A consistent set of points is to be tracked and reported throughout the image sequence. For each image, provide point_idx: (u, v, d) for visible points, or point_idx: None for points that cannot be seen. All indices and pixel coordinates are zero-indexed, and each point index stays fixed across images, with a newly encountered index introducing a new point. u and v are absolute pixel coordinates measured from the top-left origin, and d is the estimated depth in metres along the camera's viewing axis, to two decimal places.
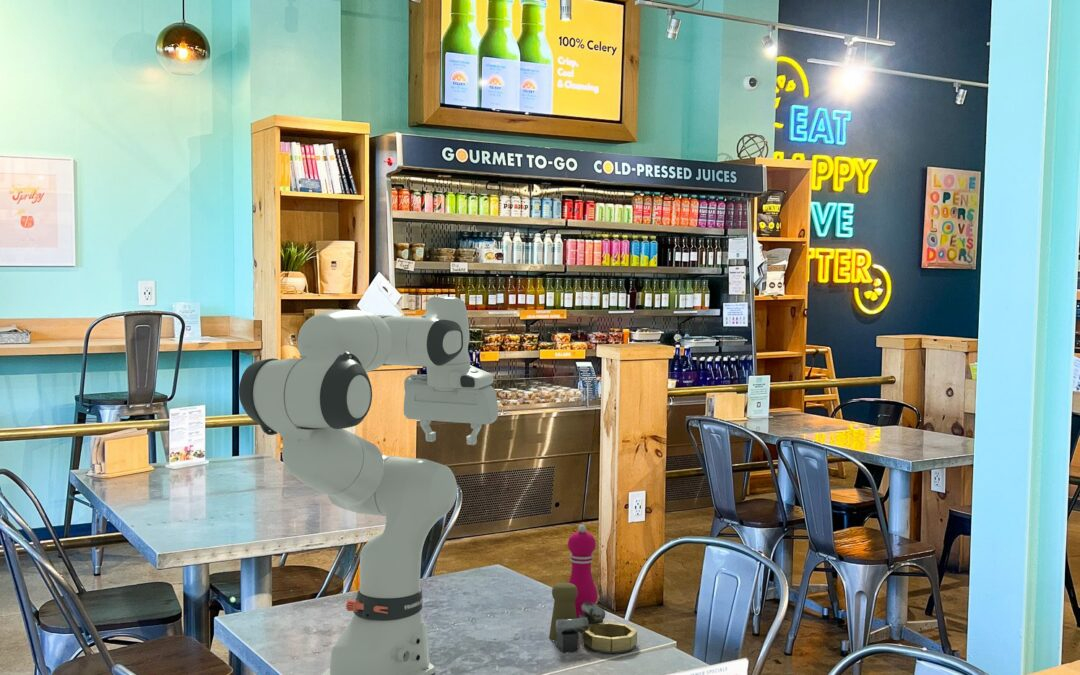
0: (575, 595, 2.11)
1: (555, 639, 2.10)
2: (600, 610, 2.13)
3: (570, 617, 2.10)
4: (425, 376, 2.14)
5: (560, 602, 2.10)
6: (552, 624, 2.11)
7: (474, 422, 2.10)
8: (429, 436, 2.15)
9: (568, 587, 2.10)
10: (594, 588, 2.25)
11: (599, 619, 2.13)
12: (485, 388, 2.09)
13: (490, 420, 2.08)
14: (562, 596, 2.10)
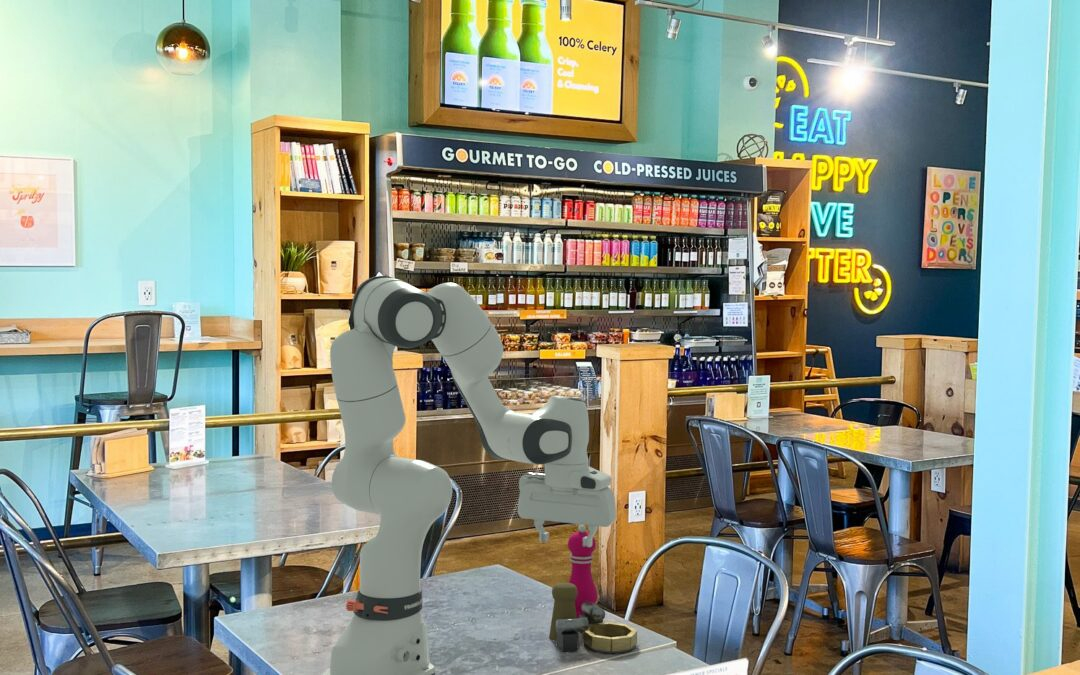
0: (575, 595, 2.11)
1: (555, 639, 2.10)
2: (600, 610, 2.13)
3: (570, 617, 2.10)
4: (541, 475, 2.13)
5: (560, 602, 2.10)
6: (552, 624, 2.11)
7: (592, 524, 2.08)
8: (543, 536, 2.13)
9: (568, 587, 2.10)
10: (594, 588, 2.25)
11: (599, 619, 2.13)
12: (605, 489, 2.08)
13: (609, 523, 2.06)
14: (562, 596, 2.10)
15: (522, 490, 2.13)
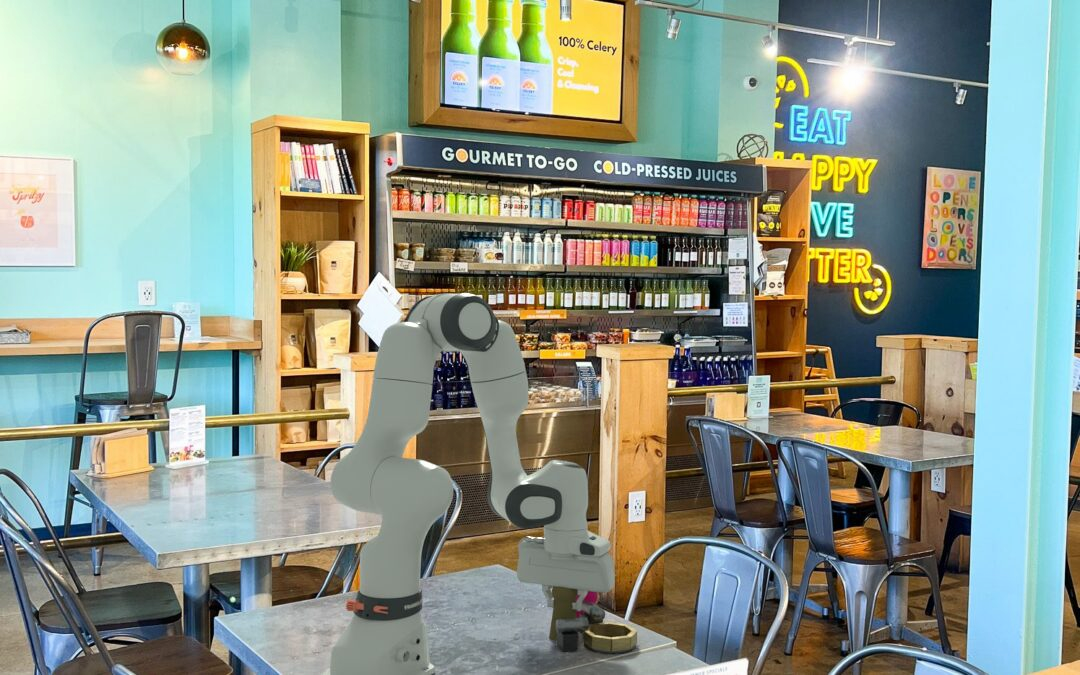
0: (575, 595, 2.11)
1: (555, 639, 2.10)
2: (600, 610, 2.13)
3: (570, 617, 2.10)
4: (541, 539, 2.13)
5: (560, 602, 2.10)
6: (552, 624, 2.11)
7: (591, 590, 2.08)
8: (551, 602, 2.12)
9: None
10: None
11: (599, 619, 2.13)
12: (604, 555, 2.08)
13: (608, 589, 2.07)
14: (562, 596, 2.10)
15: (521, 554, 2.14)
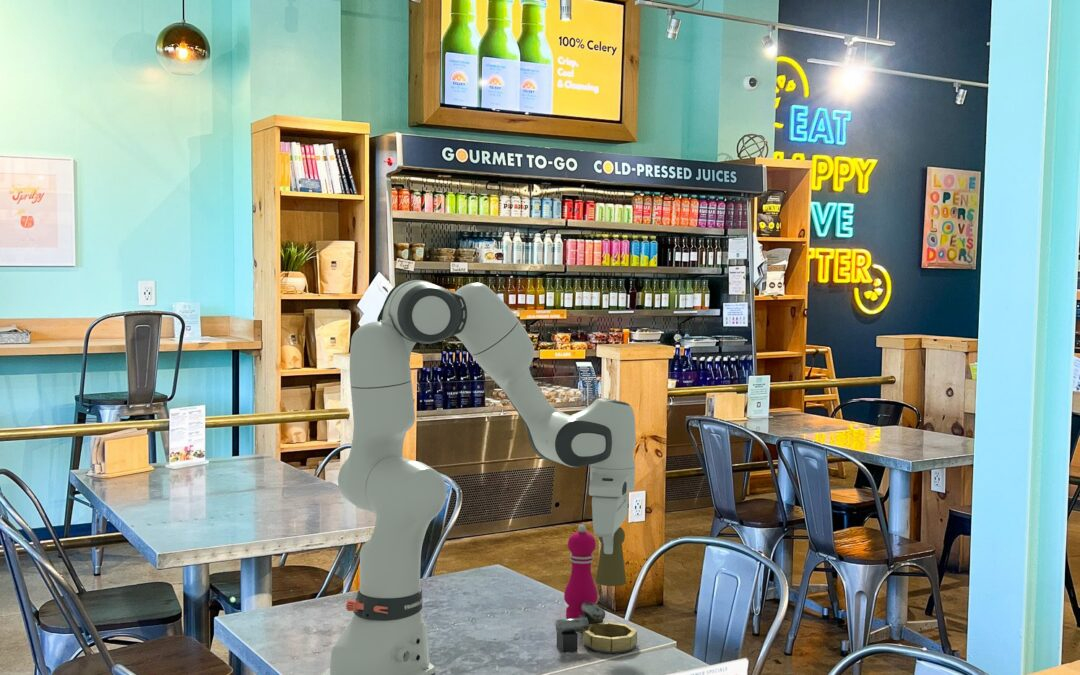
0: None
1: None
2: (600, 610, 2.13)
3: (602, 559, 2.06)
4: None
5: None
6: None
7: None
8: None
9: None
10: (594, 588, 2.25)
11: (599, 619, 2.13)
12: (603, 498, 1.99)
13: (595, 532, 1.98)
14: None
15: None
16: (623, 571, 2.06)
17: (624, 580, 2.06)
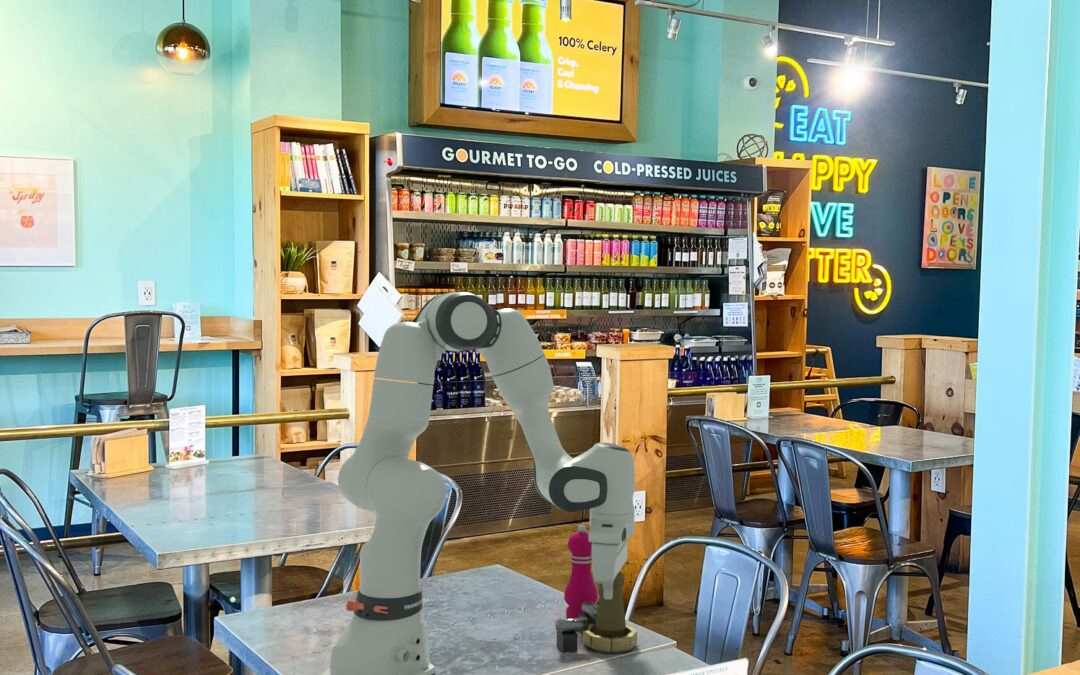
0: None
1: None
2: None
3: (602, 604, 2.06)
4: None
5: None
6: None
7: None
8: None
9: None
10: (594, 588, 2.25)
11: None
12: (602, 545, 1.99)
13: (594, 579, 1.98)
14: None
15: None
16: (623, 616, 2.07)
17: (624, 624, 2.07)
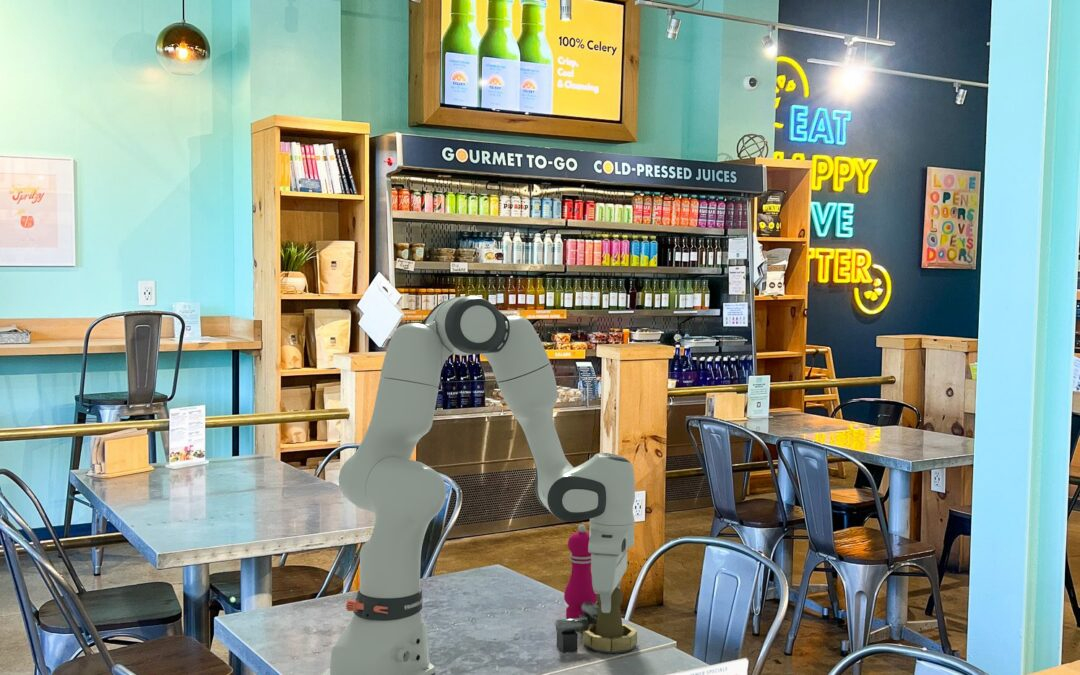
0: None
1: None
2: None
3: (600, 621, 2.06)
4: None
5: None
6: None
7: None
8: None
9: None
10: None
11: None
12: (602, 555, 1.99)
13: (594, 589, 1.98)
14: None
15: None
16: (621, 632, 2.06)
17: None
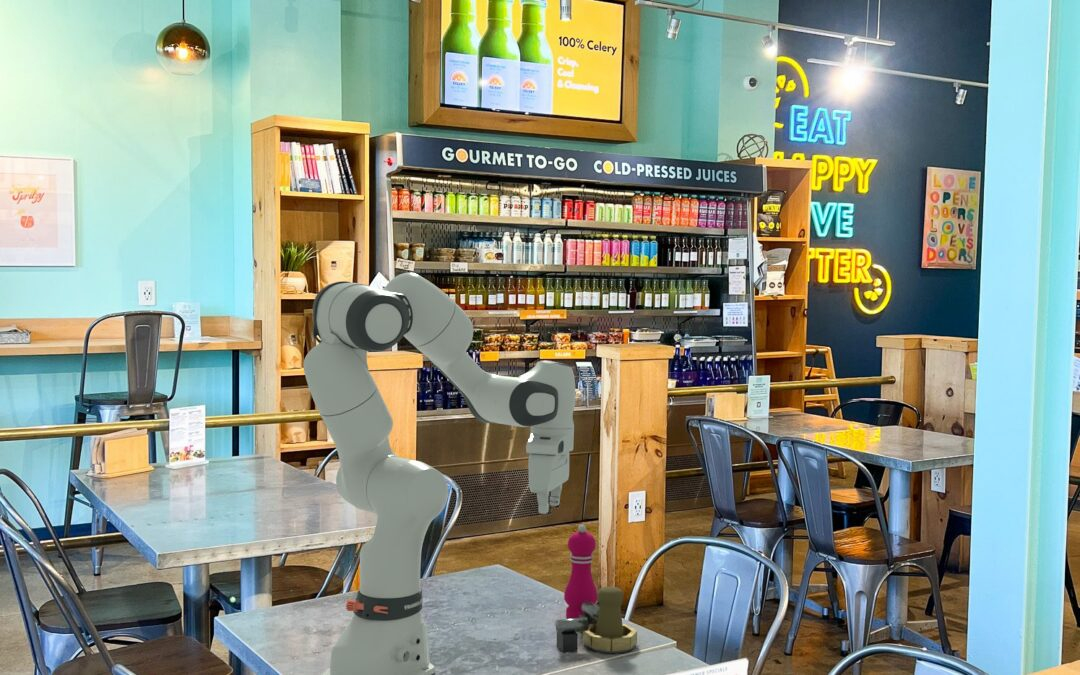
0: (605, 601, 2.05)
1: None
2: None
3: (600, 621, 2.06)
4: None
5: None
6: None
7: None
8: None
9: (603, 590, 2.06)
10: (594, 588, 2.25)
11: None
12: (539, 455, 2.05)
13: (530, 488, 2.04)
14: (597, 596, 2.07)
15: None
16: (621, 632, 2.06)
17: None
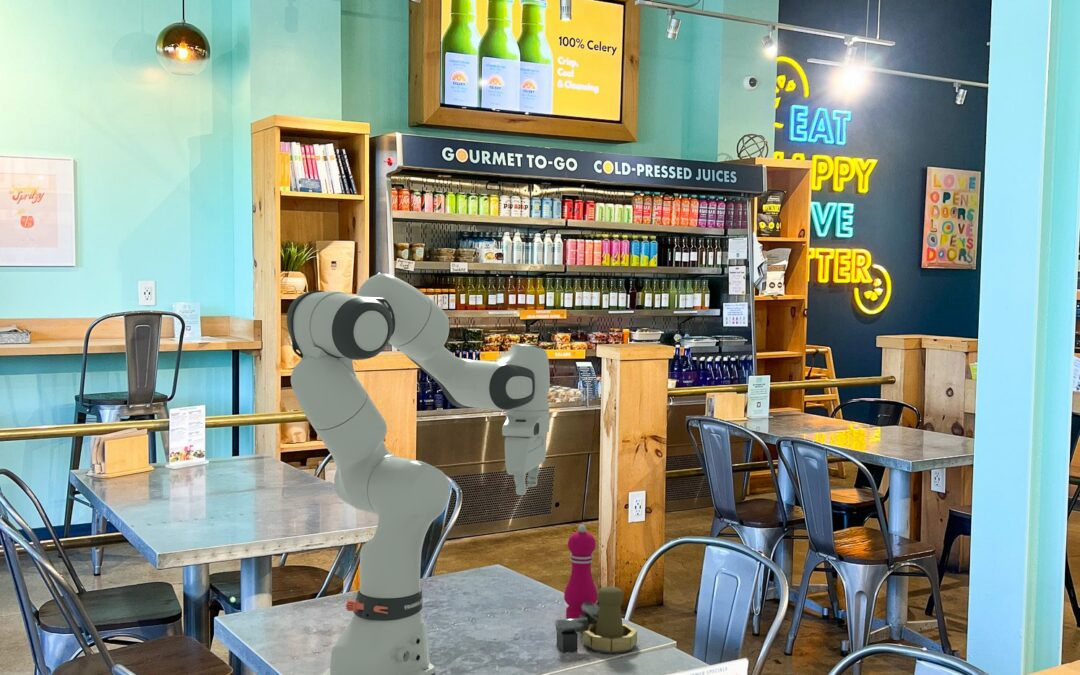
0: (605, 600, 2.05)
1: None
2: None
3: (600, 621, 2.06)
4: None
5: None
6: None
7: None
8: None
9: (603, 590, 2.06)
10: (594, 588, 2.25)
11: None
12: (515, 438, 2.07)
13: (507, 470, 2.06)
14: (597, 596, 2.07)
15: None
16: (621, 632, 2.06)
17: None
